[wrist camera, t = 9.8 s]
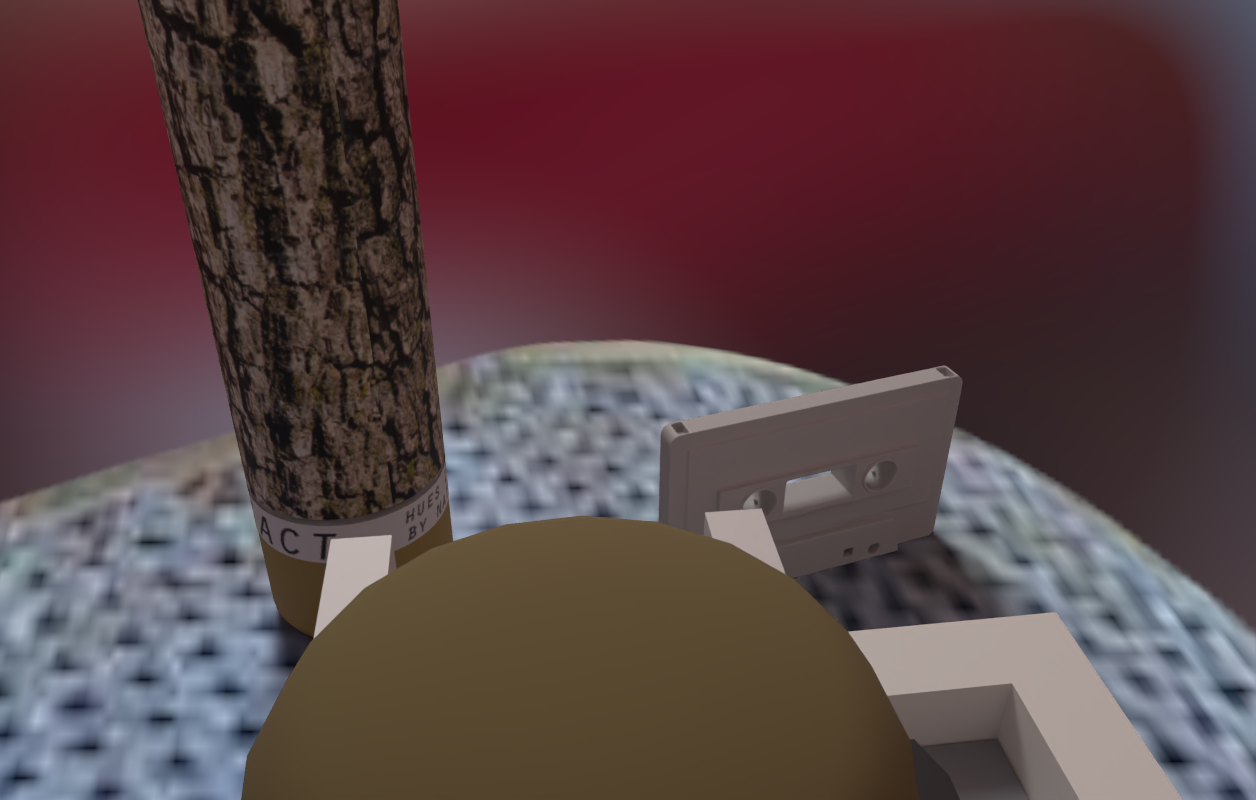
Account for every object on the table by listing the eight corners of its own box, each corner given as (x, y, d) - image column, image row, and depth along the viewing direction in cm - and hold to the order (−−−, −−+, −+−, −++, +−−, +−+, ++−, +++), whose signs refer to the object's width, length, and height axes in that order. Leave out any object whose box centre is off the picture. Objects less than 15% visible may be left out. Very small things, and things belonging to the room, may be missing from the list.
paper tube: (403, 511, 45) (315, -159, 32) (491, 599, 41) (431, -139, 27) (246, 579, 42) (72, -145, 28) (323, 683, 37) (160, -120, 24)
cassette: (669, 616, 40) (674, 446, 36) (650, 584, 42) (653, 417, 38) (941, 543, 44) (974, 381, 40) (915, 516, 45) (944, 357, 41)
